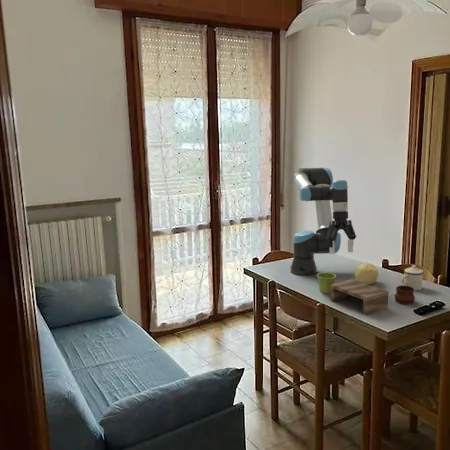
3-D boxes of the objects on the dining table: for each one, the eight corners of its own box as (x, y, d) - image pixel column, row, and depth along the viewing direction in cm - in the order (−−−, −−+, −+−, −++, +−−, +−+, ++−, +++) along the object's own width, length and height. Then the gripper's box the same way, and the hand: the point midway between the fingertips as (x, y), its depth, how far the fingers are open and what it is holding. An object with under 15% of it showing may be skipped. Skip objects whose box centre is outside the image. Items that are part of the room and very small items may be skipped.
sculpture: (379, 286, 234) (380, 266, 232) (355, 285, 236) (356, 265, 234) (376, 279, 245) (377, 260, 243) (353, 279, 247) (354, 259, 245)
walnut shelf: (330, 300, 216) (330, 284, 215) (351, 294, 224) (351, 279, 222) (366, 315, 198) (367, 297, 196) (387, 308, 205) (388, 291, 204)
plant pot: (339, 292, 227) (340, 275, 225) (326, 296, 222) (326, 279, 220) (325, 287, 235) (326, 271, 233) (312, 291, 230) (312, 275, 228)
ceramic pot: (380, 295, 222) (380, 281, 221) (417, 295, 221) (418, 281, 219) (390, 309, 205) (391, 294, 203) (431, 310, 203) (432, 295, 202)
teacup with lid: (412, 283, 237) (413, 262, 234) (426, 289, 228) (427, 266, 226) (394, 287, 232) (395, 265, 230) (408, 292, 224) (409, 270, 222)
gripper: (328, 211, 219) (330, 255, 219) (362, 210, 233) (363, 251, 233) (317, 211, 225) (318, 254, 225) (350, 210, 239) (352, 251, 239)
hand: (341, 253), depth 229 cm, fingers open, 13 cm apart
